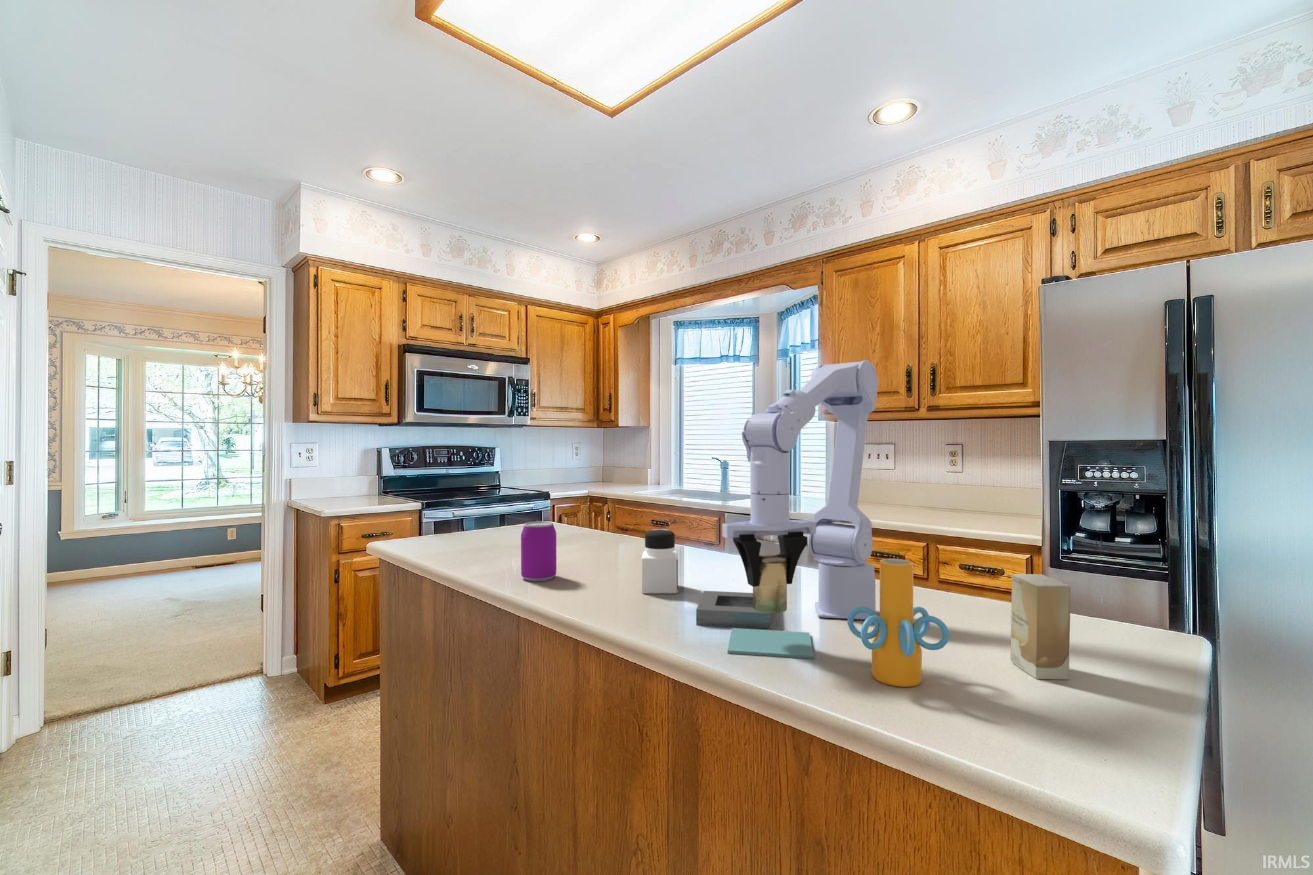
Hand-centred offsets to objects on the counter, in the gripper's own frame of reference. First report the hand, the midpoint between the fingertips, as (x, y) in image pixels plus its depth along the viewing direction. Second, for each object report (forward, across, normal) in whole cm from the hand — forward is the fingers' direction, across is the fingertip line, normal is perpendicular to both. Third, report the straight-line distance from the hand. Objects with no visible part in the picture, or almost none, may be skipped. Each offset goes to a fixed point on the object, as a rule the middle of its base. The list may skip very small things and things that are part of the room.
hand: (769, 583), depth 90 cm
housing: (+9, 0, -14) cm, 17 cm away
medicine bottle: (+9, +7, -35) cm, 37 cm away
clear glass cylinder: (+4, 0, 0) cm, 4 cm away
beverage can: (+9, +30, -52) cm, 61 cm away
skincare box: (+9, -30, +19) cm, 36 cm away
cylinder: (+9, -10, +16) cm, 21 cm away
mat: (+9, 0, 0) cm, 9 cm away
